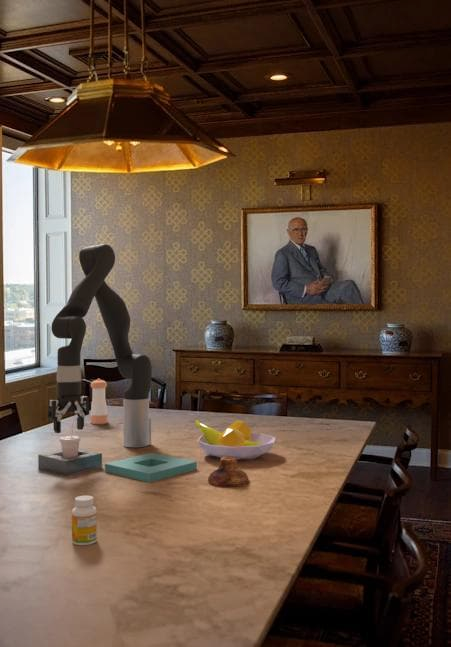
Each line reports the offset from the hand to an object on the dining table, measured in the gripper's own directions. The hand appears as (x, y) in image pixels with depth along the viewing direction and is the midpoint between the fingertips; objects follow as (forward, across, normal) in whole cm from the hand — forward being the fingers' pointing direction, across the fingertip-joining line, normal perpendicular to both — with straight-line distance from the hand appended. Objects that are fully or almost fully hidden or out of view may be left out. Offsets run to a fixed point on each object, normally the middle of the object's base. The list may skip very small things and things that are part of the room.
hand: (69, 431), depth 223 cm
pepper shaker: (+11, -59, -58) cm, 84 cm away
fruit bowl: (+11, -48, +28) cm, 56 cm away
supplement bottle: (+12, +39, +58) cm, 71 cm away
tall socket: (+12, 0, 0) cm, 12 cm away
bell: (+12, -20, +49) cm, 54 cm away
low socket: (+12, -14, +22) cm, 29 cm away
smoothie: (+12, 0, 0) cm, 12 cm away
